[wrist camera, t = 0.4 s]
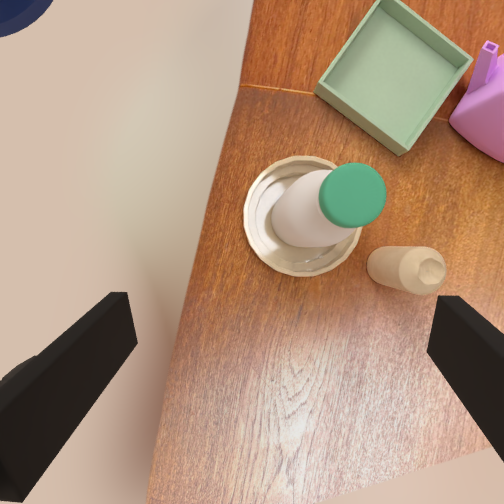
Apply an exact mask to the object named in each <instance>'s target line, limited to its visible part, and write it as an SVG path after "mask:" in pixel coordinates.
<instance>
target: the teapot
mask: <svg viewBox="0 0 504 504" xmlns="http://www.w3.org/2000/svg"><path fill="white" fill-rule="evenodd" d="M498 47H499V45H497V44H495V43H492V42H490V41H488V40H487V41H486V43H485V44H484V46H483V47H482V49H481V50H480V53H479V56H478V59H477V62H476V65H475V68H474V71H473V74H472V77H471V80H470V83H469V86H468V89H467V91H466V93H465V94H464V96H463V97H462V99H461V100H460V102H459V103H458V105H457V106H456V108H455V110H454V111H453V113H452V115H451V116H450V119H449V123H450V124H451V126H452V127H453V128H454V129H455V130H456V131H457V132H458V133H459V134H460V135H462V136H463V137H464V138H465V139H466V140H467V141H469V142H470V143H471V144H472V145H474V146H475V147H476V148H478V149H479V150H481V151H482V152H484V153H486V154H487V155H489V156H491V157H492V158H494V159H496V160H498V161H500V162H502V163H504V54H502V55H501V56H499V57H498V58H497V52H498Z"/></svg>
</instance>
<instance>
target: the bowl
mask: <svg viewBox="0 0 504 504" xmlns="http://www.w3.org/2000/svg"><path fill="white" fill-rule="evenodd" d="M336 168H338V167H337V166H336V165H335V164H333V163H332V162H330V161H327V160H324V159H321V158H318V157H315V156H292V157H289V158H286V159H283V160H280V161H276V162H275V163H273V164H272V165H271V166H269V167H268V168H267V169H265V170H264V171H263V172H261V173H260V174H259V176H258V177H257V179H256V180H255V181H254V183H253V184H252V186H251V187H250V189H249V191H248V194H247V198H246V201H245V204H244V208H243V229H244V231H245V234H246V237H247V240H248V243H249V245H250V247H251V248H252V250H253V251H254V252H255V254H256V255H257V256H258V258H259V259H260V260H262V261H263V262H265V263H266V264H267V265H269V266H270V267H272V268H273V269H274V270H276V271H278V272H281V273H284V274H287V275H291V276H294V277H311V276H316V275H319V274H322V273H325V272H328V271H331V270H332V269H334V268H335V267H336V266H338V265H339V264H340V263H342V262H343V261H345V260H346V259H347V257H348V256H349V255H350V253H351V252H352V250H353V249H354V248H355V246H356V245H357V243H358V240H359V237H360V233H361V230H362V227H363V226H362V227H358V228H356V229H355V230H354V231H353V233H352V234H351V235H349V236H348V237H347V238H346V239H344V240H343V241H341V242H339V243H337V244H334V245H331V246H327V247H296V246H291V245H288V244H286V243H284V242H283V241H282V240H280V239H279V238H278V236H277V235H276V234H275V232H274V230H273V227H272V223H271V214H272V210H273V207H274V205H275V203H276V202H277V200H278V199H279V198H280V197H281V196H282V194H283V193H284V192H285V191H286V190H287V189H288V188H289V187H290V186H291V185H292V184H293V183H294V182H295V181H296V180H298V179H299V178H300V177H302V176H304V175H306V174H308V173H310V172H313V171H317V170H334V169H336Z"/></svg>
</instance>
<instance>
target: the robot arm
mask: <svg viewBox="0 0 504 504" xmlns="http://www.w3.org/2000/svg"><path fill="white" fill-rule="evenodd" d="M137 344H138V342H137V338H136V332H135V328H134V323H133V318H132V313H131V309H130V304H129V299H128V295H127V292H110V293H109V294H108V295H107V296H106V297H104V298H103V299H102V300H101V301H100V302H99V303H98V304H96V305H95V306H94V307H93V308H92V309H91V310H90V311H88V312H87V313H86V314H85V315H84V316H83V317H81V318H80V319H79V320H78V321H77V322H75V323H74V324H73V325H72V326H71V327H70V328H69V329H67V330H66V331H65V332H64V333H63V334H62V335H61V336H59V337H58V338H57V339H56V340H55V341H53V342H52V343H51V344H50V345H49V346H48V347H47V348H45V349H44V350H43V351H42V352H41V353H40V354H38V355H37V356H33V357H32V358H30V359H28V360H26V361H24V362H23V363H21V364H19V365H18V366H16V367H15V368H14V369H12V370H11V371H10V372H9V373H8V374H7V375H5V376H4V377H3V378H2V380H1V381H0V501H10V502H21V503H22V502H23V501H24V500H25V498H26V497H27V495H28V494H29V492H30V491H31V490H32V489H33V487H34V486H35V484H36V483H37V482H38V480H39V479H40V477H41V476H42V475H43V473H44V472H45V471H46V469H47V468H48V466H49V465H50V464H51V462H52V461H53V460H54V458H55V457H56V455H57V454H58V453H59V451H60V450H61V449H62V447H63V446H64V444H65V443H66V441H67V440H68V439H69V438H70V436H71V435H72V433H73V432H74V430H75V429H76V428H77V426H78V425H79V424H80V422H81V421H82V419H83V418H84V417H85V415H86V414H87V413H88V411H89V410H90V409H91V407H92V406H93V404H94V403H95V402H96V400H97V399H98V397H99V396H100V394H101V393H102V392H103V390H104V389H105V388H106V386H107V385H108V384H109V382H110V381H111V379H112V378H113V377H114V375H115V374H116V373H117V371H118V370H119V368H120V367H121V366H122V364H123V363H124V362H125V360H126V359H127V357H128V356H129V355H130V353H131V352H132V351H133V349H134V348H135V346H136V345H137ZM427 353H428V355H429V356H430V357H431V359H432V360H433V362H434V363H435V365H436V366H437V367H438V369H439V370H440V372H441V373H442V375H443V376H444V378H445V379H446V380H447V382H448V383H449V385H450V386H451V388H452V389H453V390H454V392H455V393H456V395H457V396H458V398H459V399H460V400H461V402H462V403H463V405H464V406H465V408H466V409H467V410H468V412H469V413H470V415H471V416H472V418H473V419H474V420H475V422H476V423H477V425H478V426H479V428H480V429H481V430H482V432H483V433H484V435H485V436H486V438H487V439H488V441H489V442H490V443H491V445H492V446H493V448H494V449H495V451H496V452H497V453H498V455H499V456H500V458H501V459H502V460H503V462H504V334H503V333H502V332H500V331H499V330H498V329H497V328H496V327H495V326H493V325H492V324H491V323H490V322H489V321H488V320H486V319H485V318H484V317H483V316H482V315H481V314H479V313H478V312H477V311H476V310H475V309H474V308H472V307H471V306H470V305H469V304H468V303H466V302H465V301H464V300H463V299H462V298H461V297H459V296H438V299H437V304H436V309H435V313H434V318H433V323H432V328H431V333H430V338H429V343H428V348H427Z"/></svg>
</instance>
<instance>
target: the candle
mask: <svg viewBox="0 0 504 504" xmlns="http://www.w3.org/2000/svg"><path fill="white" fill-rule="evenodd" d="M367 271H368V274H369V276H370V277H371V278H372V279H373V280H374V281H375V282H377V283H379V284H382V285H385V286H388V287H392V288H395V289H399V290H402V291H406V292H409V293H413V294H417V295H428V294H431V293H433V292H435V291H436V290H438V289H439V288H440V287H441V285H442V284H443V282H444V280H445V277H446V264H445V261H444V259H443V257H442V256H441V254H440V253H439V252H437V251H436V250H434V249H432V248H429V247H418V246H383V247H380V248H377V249H376V250H374V251H373V252H372V253H371V254H370V256H369V258H368V260H367Z"/></svg>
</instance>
